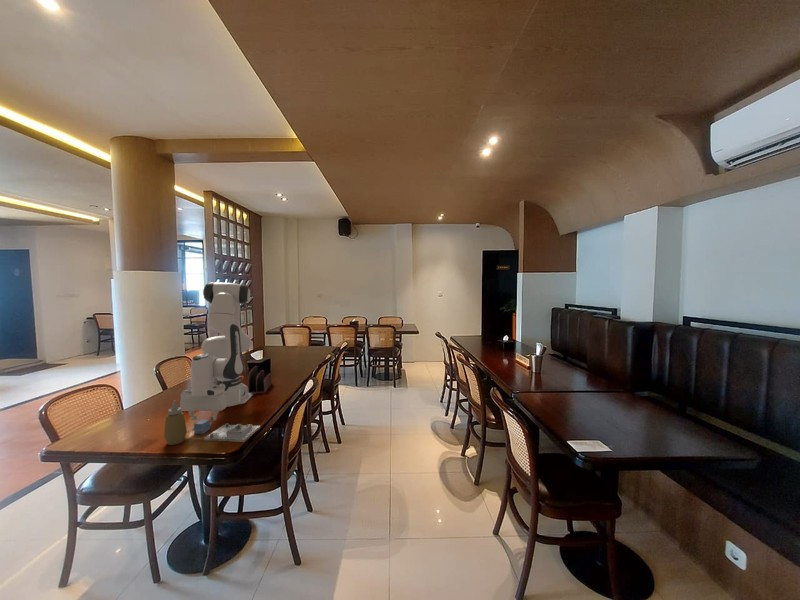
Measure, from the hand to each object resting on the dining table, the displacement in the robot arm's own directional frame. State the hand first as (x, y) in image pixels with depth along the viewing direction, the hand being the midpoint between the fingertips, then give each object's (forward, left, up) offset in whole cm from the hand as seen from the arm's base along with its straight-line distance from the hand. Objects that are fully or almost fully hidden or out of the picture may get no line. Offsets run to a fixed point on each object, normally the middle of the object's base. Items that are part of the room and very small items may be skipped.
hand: (203, 419), depth 151 cm
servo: (0, -1, -6) cm, 6 cm away
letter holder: (-63, -7, -6) cm, 63 cm away
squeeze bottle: (+11, -5, -6) cm, 13 cm away
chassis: (+1, +15, -6) cm, 16 cm away
